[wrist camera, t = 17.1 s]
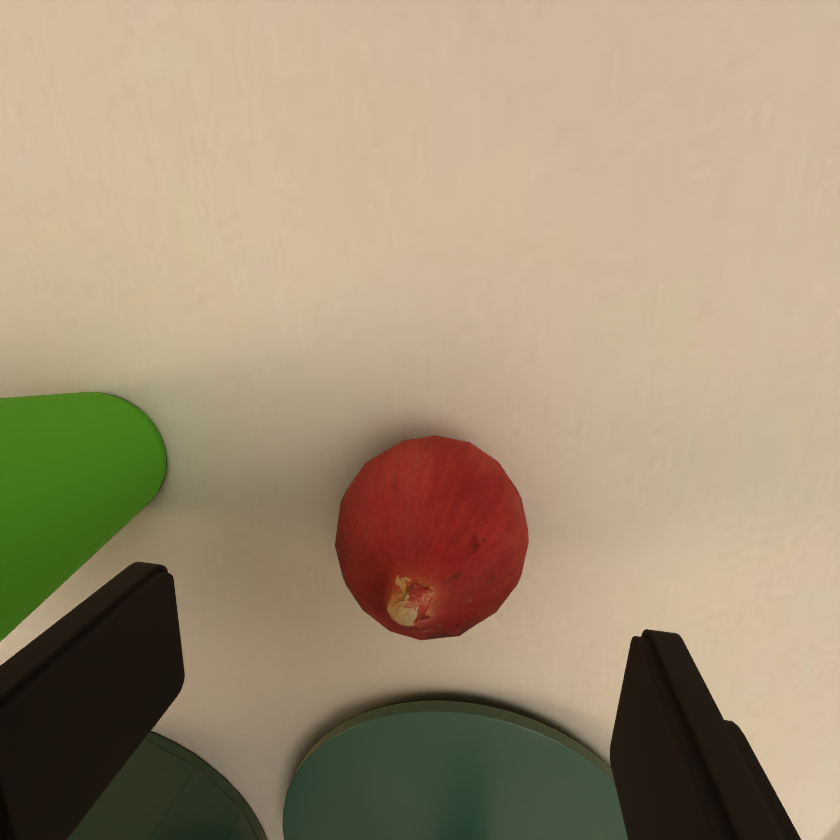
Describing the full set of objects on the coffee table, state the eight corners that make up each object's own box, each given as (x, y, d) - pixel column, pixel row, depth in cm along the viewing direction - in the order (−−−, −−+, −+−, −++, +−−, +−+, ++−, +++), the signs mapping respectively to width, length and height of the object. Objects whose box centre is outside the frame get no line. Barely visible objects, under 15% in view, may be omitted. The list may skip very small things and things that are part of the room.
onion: (533, 544, 19) (557, 724, 11) (389, 560, 20) (321, 733, 12) (507, 398, 17) (514, 488, 10) (355, 425, 18) (254, 523, 11)
